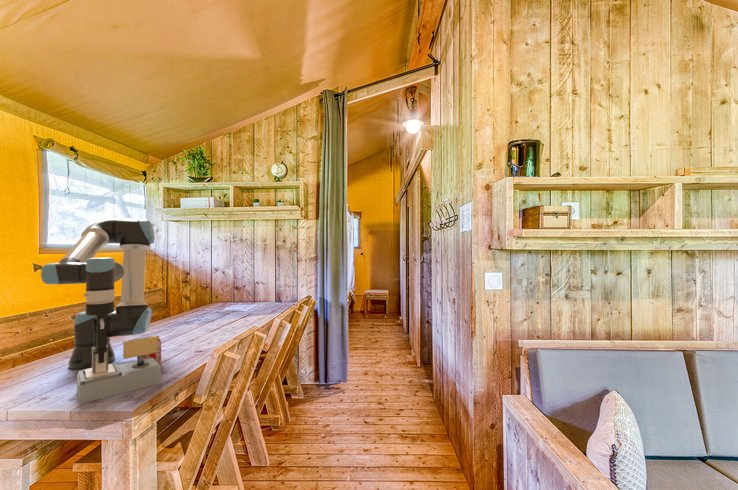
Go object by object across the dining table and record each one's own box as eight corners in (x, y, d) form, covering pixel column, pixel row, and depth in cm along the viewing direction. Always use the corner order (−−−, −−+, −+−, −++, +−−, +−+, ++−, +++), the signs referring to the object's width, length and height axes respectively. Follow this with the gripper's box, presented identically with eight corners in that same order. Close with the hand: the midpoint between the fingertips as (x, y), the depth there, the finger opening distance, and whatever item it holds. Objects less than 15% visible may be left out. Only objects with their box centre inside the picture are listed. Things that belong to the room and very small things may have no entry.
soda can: (150, 370, 127) (150, 340, 127) (136, 368, 128) (136, 339, 129) (165, 363, 134) (165, 335, 134) (151, 362, 135) (151, 334, 136)
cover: (84, 373, 108) (84, 346, 109) (112, 367, 114) (112, 341, 114) (86, 382, 101) (86, 353, 102) (115, 375, 107) (115, 347, 107)
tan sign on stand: (123, 367, 113) (123, 340, 113) (156, 360, 120) (156, 335, 120) (124, 369, 111) (124, 342, 112) (157, 362, 118) (157, 336, 119)
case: (77, 390, 109) (77, 370, 109) (152, 372, 124) (152, 355, 124) (79, 404, 99) (79, 382, 99) (161, 383, 114) (161, 364, 114)
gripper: (84, 300, 112) (83, 365, 111) (87, 307, 99) (87, 380, 99) (111, 298, 117) (110, 360, 117) (117, 304, 104) (117, 373, 104)
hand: (100, 369), depth 108 cm, fingers closed on cover, 5 cm apart
